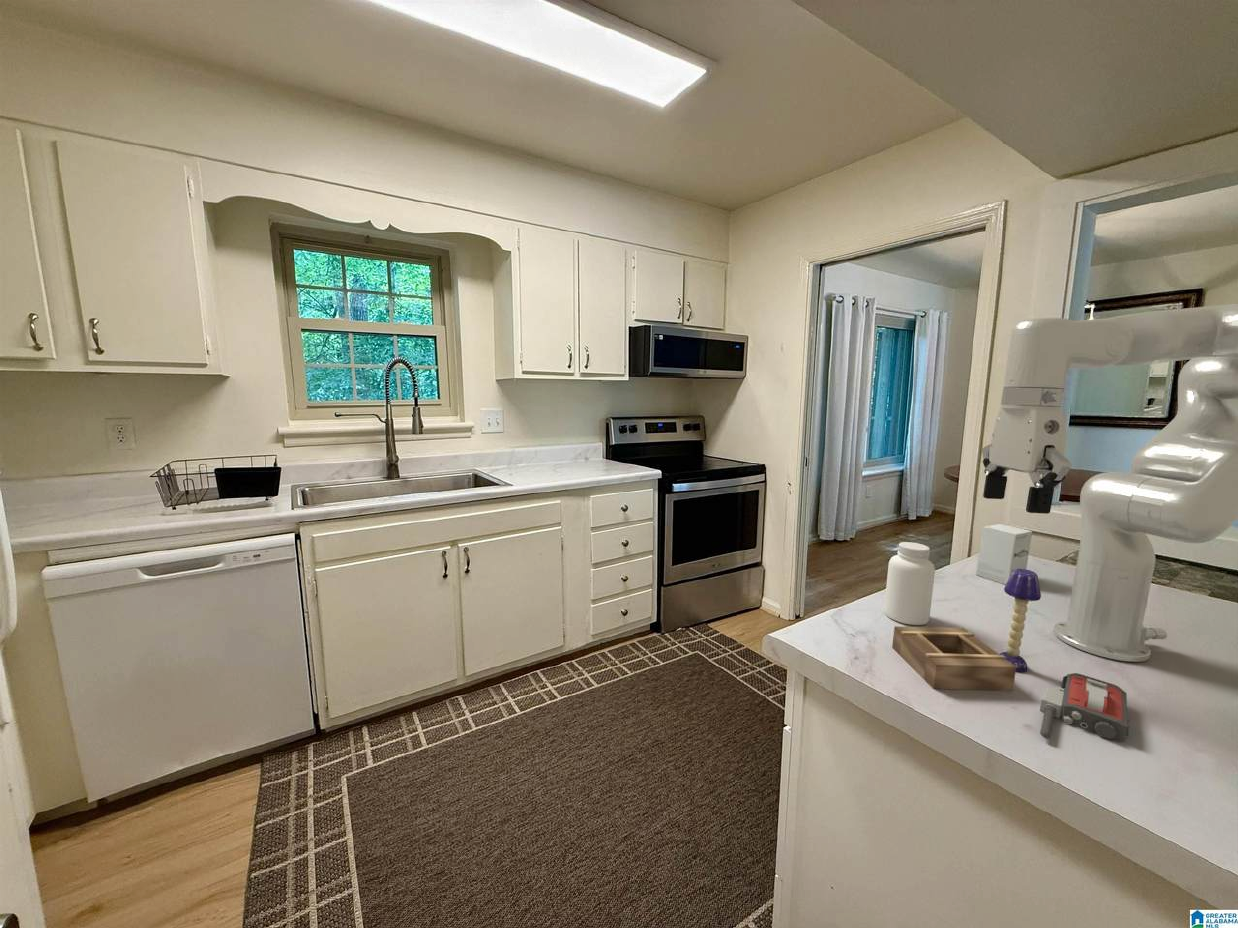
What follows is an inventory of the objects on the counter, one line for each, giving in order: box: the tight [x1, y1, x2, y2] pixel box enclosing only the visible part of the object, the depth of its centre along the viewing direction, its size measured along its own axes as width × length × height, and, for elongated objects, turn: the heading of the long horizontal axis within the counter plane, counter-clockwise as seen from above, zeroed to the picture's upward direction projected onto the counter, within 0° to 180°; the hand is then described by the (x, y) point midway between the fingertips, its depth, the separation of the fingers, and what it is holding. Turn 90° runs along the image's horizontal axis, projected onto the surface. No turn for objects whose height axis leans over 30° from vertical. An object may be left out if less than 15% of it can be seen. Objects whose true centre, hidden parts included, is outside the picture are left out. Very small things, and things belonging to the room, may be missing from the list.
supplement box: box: [975, 523, 1033, 586], centre depth 119 cm, size 7×7×13 cm
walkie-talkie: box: [1039, 672, 1130, 743], centre depth 69 cm, size 9×4×20 cm
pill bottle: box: [883, 541, 936, 626], centre depth 98 cm, size 8×8×15 cm
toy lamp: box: [998, 568, 1042, 673], centre depth 80 cm, size 5×5×17 cm
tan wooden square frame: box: [891, 626, 1017, 692], centre depth 81 cm, size 12×12×4 cm
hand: (1014, 505), depth 80 cm, fingers open, 9 cm apart
